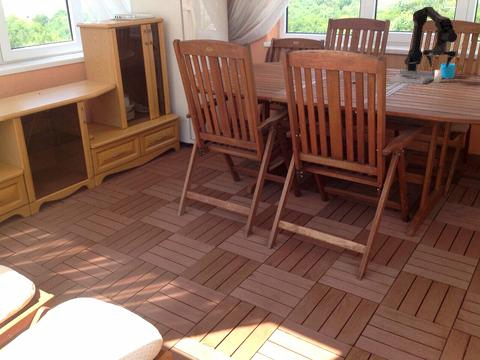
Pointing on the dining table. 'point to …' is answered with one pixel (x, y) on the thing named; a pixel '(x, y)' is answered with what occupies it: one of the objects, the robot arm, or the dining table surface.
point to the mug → (448, 70)
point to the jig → (412, 77)
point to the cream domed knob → (438, 76)
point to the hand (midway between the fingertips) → (438, 67)
